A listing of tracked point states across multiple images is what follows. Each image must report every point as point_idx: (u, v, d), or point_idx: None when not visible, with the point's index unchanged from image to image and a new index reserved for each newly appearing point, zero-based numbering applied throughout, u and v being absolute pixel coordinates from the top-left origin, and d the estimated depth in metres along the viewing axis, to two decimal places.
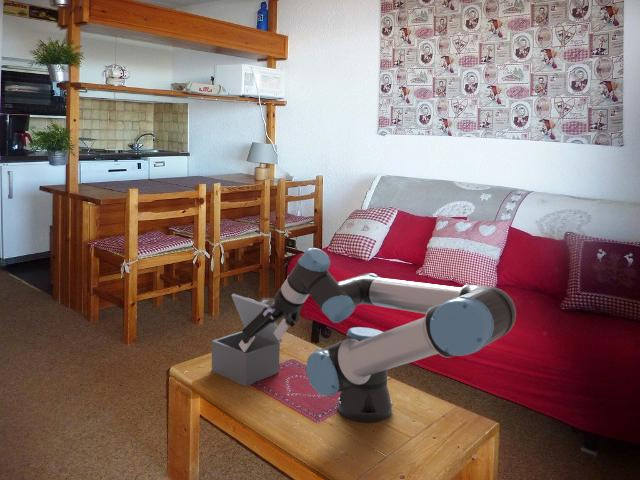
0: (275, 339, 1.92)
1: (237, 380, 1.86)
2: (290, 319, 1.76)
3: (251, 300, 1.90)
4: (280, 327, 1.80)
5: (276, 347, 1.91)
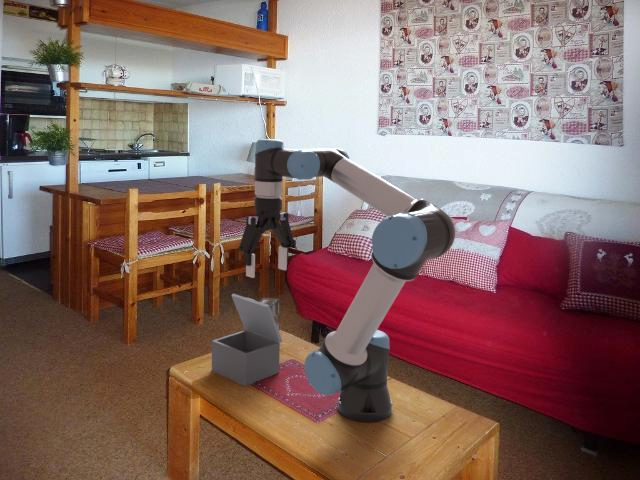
0: (275, 339, 1.92)
1: (237, 380, 1.86)
2: (283, 236, 1.73)
3: (251, 300, 1.90)
4: (280, 256, 1.76)
5: (276, 347, 1.91)
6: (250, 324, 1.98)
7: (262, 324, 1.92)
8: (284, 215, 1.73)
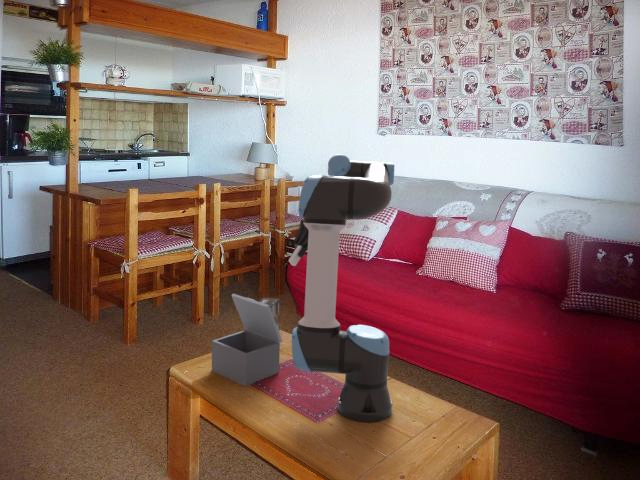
0: (275, 339, 1.92)
1: (237, 380, 1.86)
2: None
3: (251, 300, 1.90)
4: None
5: (276, 347, 1.91)
6: (250, 324, 1.98)
7: (262, 324, 1.92)
8: None
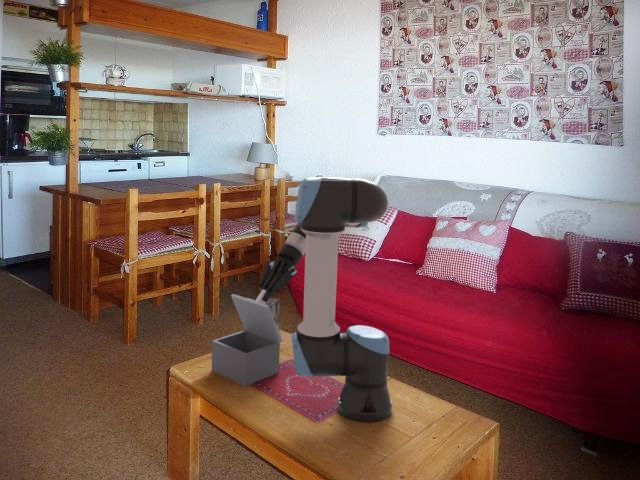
0: (275, 339, 1.92)
1: (237, 380, 1.86)
2: (274, 279, 1.96)
3: (251, 300, 1.90)
4: None
5: (276, 347, 1.91)
6: (250, 324, 1.98)
7: (262, 324, 1.92)
8: None
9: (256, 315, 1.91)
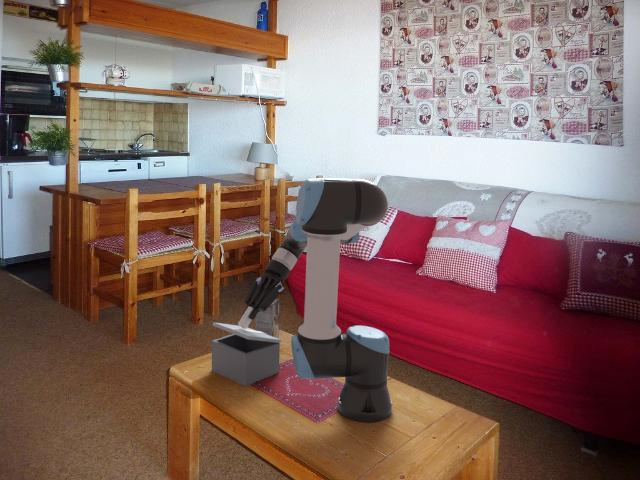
0: None
1: (237, 380, 1.86)
2: (261, 296, 1.93)
3: (231, 330, 1.85)
4: None
5: (276, 347, 1.91)
6: None
7: None
8: None
9: None
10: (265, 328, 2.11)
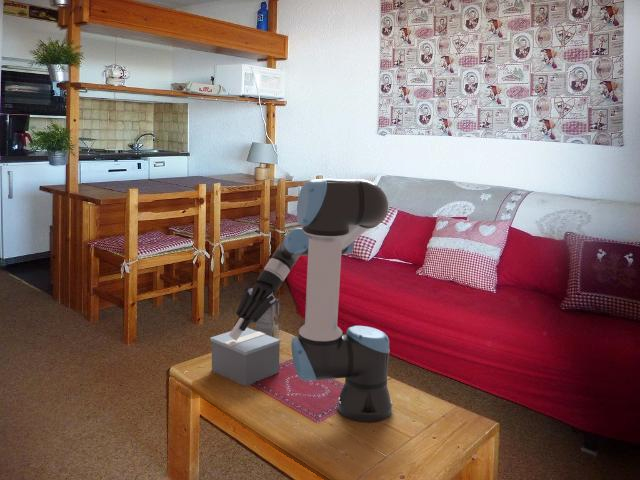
0: None
1: (237, 380, 1.86)
2: (252, 307, 1.90)
3: (228, 346, 1.86)
4: None
5: (276, 347, 1.91)
6: None
7: None
8: None
9: None
10: (265, 328, 2.11)
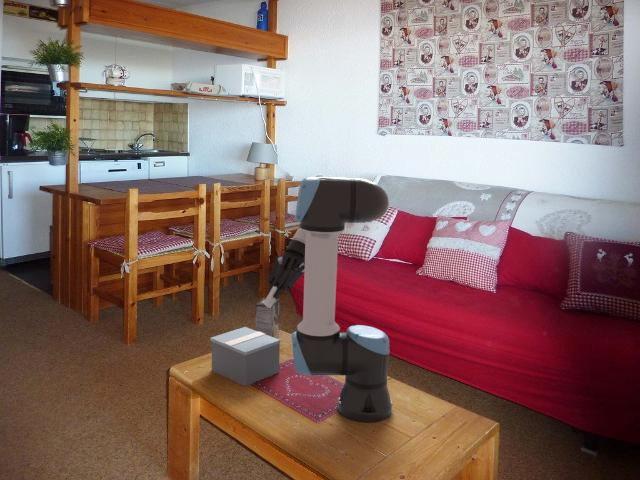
0: None
1: (237, 380, 1.86)
2: (284, 276, 1.97)
3: (228, 346, 1.86)
4: None
5: (276, 347, 1.91)
6: None
7: None
8: None
9: None
10: (265, 328, 2.11)
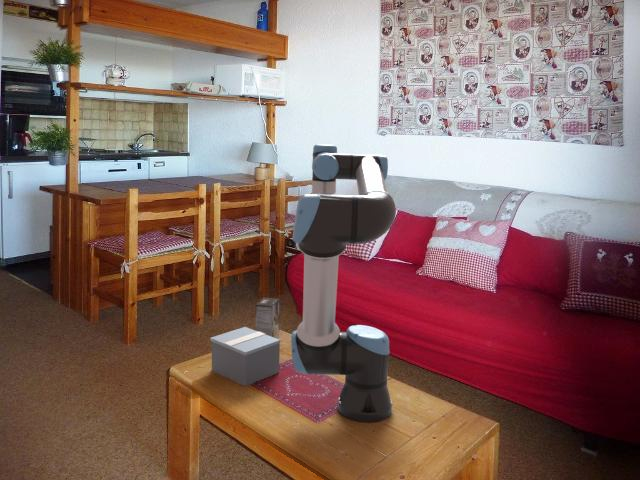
0: None
1: (237, 380, 1.86)
2: None
3: (228, 346, 1.86)
4: None
5: (276, 347, 1.91)
6: None
7: None
8: None
9: None
10: (265, 328, 2.11)
